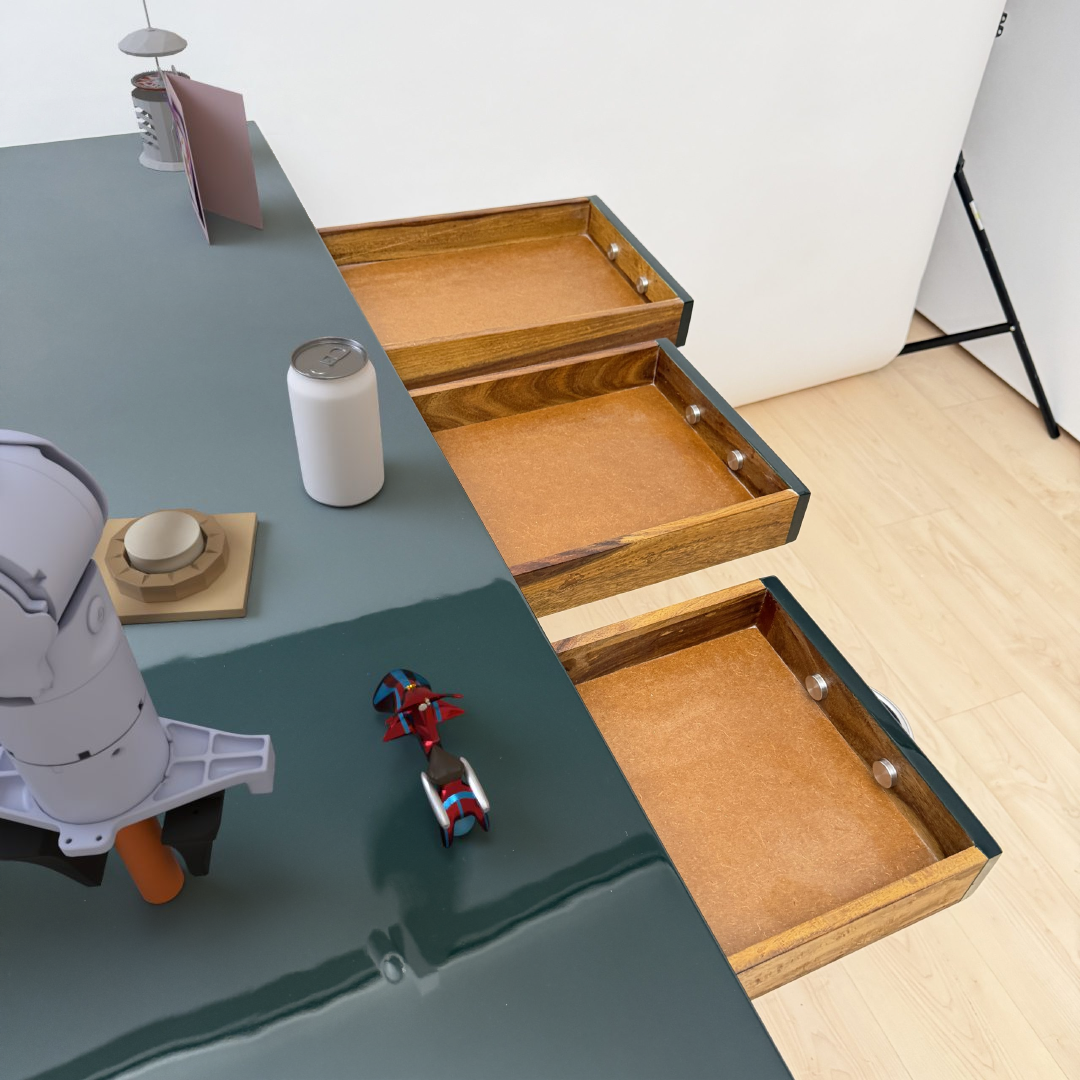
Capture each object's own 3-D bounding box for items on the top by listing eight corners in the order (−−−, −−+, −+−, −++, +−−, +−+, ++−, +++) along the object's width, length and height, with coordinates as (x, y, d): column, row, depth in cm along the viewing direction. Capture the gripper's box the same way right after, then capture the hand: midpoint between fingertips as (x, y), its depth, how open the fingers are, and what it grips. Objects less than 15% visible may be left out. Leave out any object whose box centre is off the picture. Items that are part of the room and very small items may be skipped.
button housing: (77, 627, 61) (65, 602, 59) (108, 527, 68) (99, 502, 66) (245, 617, 62) (239, 592, 60) (258, 520, 69) (252, 496, 68)
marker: (136, 907, 47) (86, 819, 41) (144, 865, 49) (97, 776, 43) (181, 902, 48) (139, 815, 41) (187, 861, 49) (147, 772, 43)
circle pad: (123, 577, 61) (117, 561, 60) (136, 528, 65) (131, 512, 64) (199, 573, 62) (194, 557, 61) (208, 524, 66) (204, 508, 65)
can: (288, 495, 72) (265, 367, 63) (331, 451, 76) (315, 325, 68) (359, 519, 70) (344, 390, 62) (399, 472, 74) (390, 346, 66)
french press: (202, 139, 125) (160, -76, 108) (230, 169, 118) (190, -56, 101) (129, 150, 121) (74, -72, 103) (154, 181, 114) (98, -51, 97)
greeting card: (185, 206, 109) (156, 72, 99) (247, 198, 112) (225, 67, 101) (201, 246, 102) (172, 106, 91) (267, 237, 104) (246, 100, 94)
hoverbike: (432, 680, 59) (430, 624, 55) (509, 833, 51) (513, 780, 48) (357, 706, 57) (349, 650, 53) (425, 869, 50) (422, 817, 46)
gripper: (-159, 810, 33) (-23, 957, 43) (243, 775, 35) (289, 924, 45) (-90, 662, 38) (19, 823, 48) (259, 639, 40) (297, 798, 50)
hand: (151, 863), depth 47 cm, fingers open, 5 cm apart
